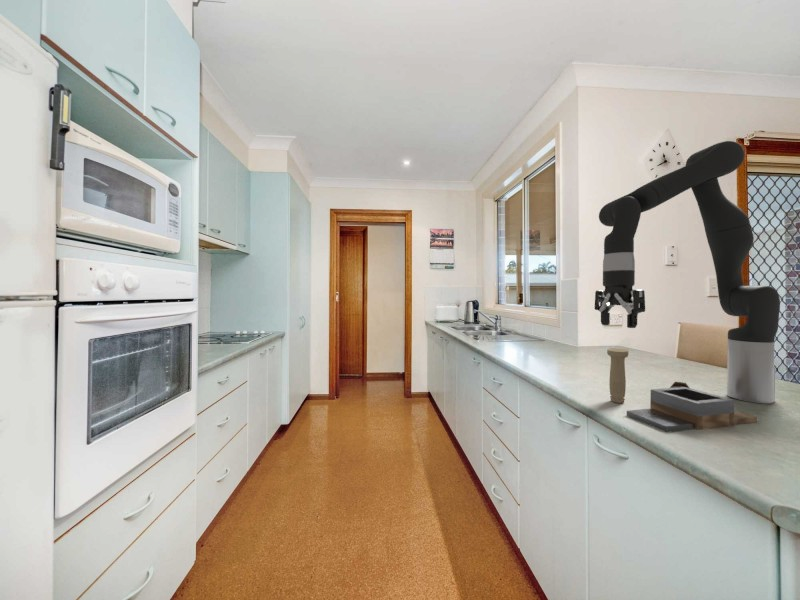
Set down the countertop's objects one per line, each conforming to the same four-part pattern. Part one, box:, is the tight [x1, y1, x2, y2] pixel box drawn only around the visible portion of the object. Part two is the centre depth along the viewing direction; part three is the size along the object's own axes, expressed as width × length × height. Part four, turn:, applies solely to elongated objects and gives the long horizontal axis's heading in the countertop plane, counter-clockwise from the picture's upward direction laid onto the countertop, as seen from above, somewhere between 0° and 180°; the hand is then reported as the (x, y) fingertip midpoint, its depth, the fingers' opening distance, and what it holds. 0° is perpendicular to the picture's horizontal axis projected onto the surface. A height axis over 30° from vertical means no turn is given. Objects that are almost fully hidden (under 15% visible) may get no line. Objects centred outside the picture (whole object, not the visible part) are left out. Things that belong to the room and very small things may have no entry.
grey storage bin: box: [626, 387, 736, 433], centre depth 78 cm, size 19×11×6 cm, turn 101°
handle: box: [606, 347, 629, 404], centre depth 91 cm, size 5×6×15 cm
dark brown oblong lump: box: [669, 381, 690, 388], centre depth 94 cm, size 6×5×15 cm
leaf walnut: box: [649, 400, 758, 431], centre depth 80 cm, size 19×11×3 cm, turn 101°
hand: (617, 326), depth 91 cm, fingers open, 8 cm apart
